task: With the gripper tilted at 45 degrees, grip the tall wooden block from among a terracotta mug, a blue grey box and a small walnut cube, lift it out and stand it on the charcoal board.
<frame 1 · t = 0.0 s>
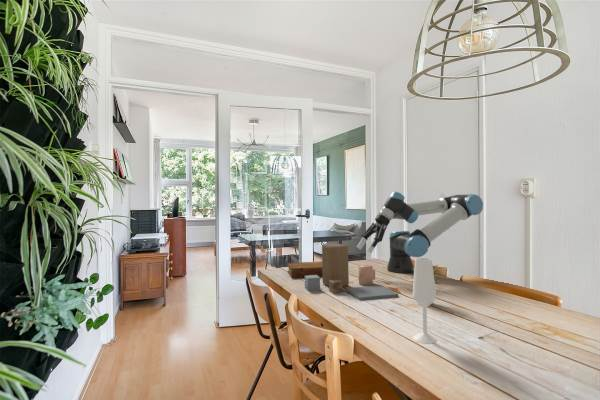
hand: (363, 250, 184), 15 cm above the table, tool tilted 35°, fingers open, 13 cm apart
diary: (308, 274, 199), on the table
blue grey box: (312, 289, 164), on the table
house plant: (429, 303, 138), on the table
terracotta mug: (366, 284, 172), on the table
champagne flute: (425, 339, 103), on the table
walnut cube: (335, 291, 159), on the table
charcoal board: (371, 293, 154), on the table
wooden block: (335, 285, 171), on the table
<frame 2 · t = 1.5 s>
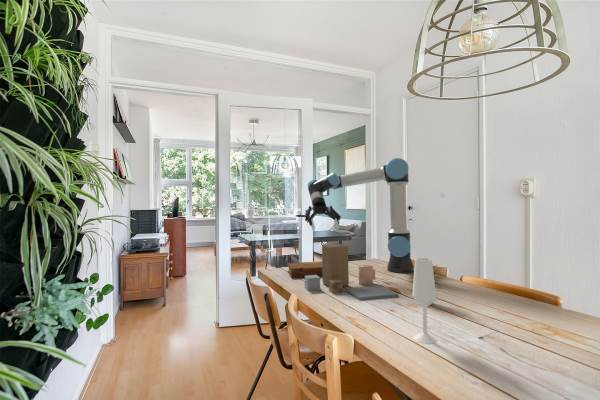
hand: (326, 229, 184), 27 cm above the table, tool tilted 45°, fingers open, 13 cm apart
nothing on the table moved.
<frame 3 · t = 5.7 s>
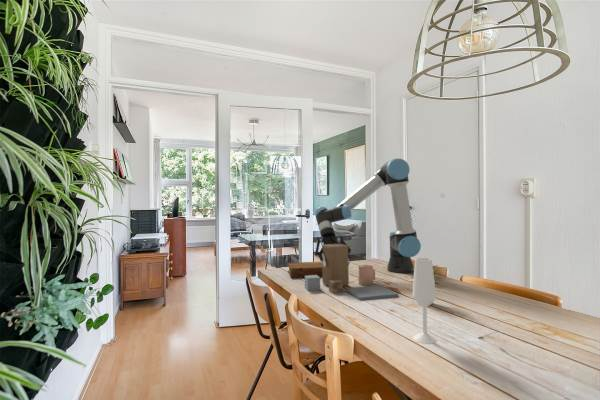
hand: (336, 265, 169), 10 cm above the table, tool tilted 45°, fingers closed on wooden block, 11 cm apart
wooden block: (335, 285, 171), on the table, touching gripper
everything else where it was.
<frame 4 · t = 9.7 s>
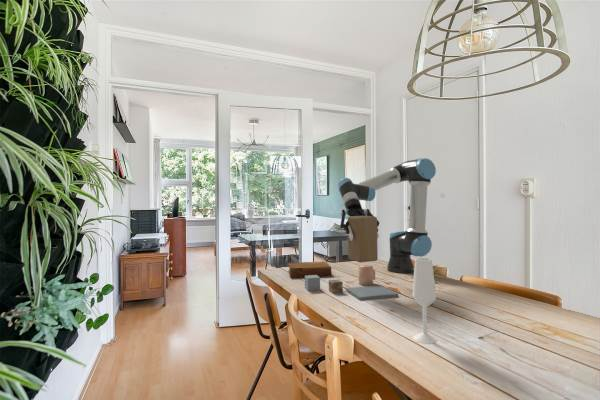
hand: (364, 238, 154), 25 cm above the table, tool tilted 45°, fingers closed on wooden block, 11 cm apart
wooden block: (362, 260, 156), point 14 cm above the table, touching gripper
everything else where it was.
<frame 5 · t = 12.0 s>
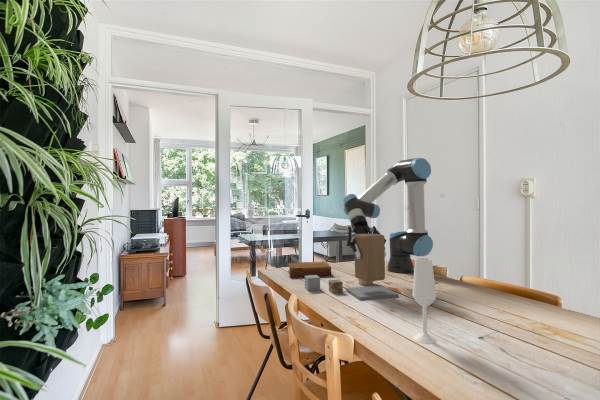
hand: (372, 256, 151), 17 cm above the table, tool tilted 45°, fingers closed on wooden block, 11 cm apart
wooden block: (369, 279, 154), point 6 cm above the table, touching gripper
everything else where it was.
when the fingers open (13 cm above the table, at t = 13.7 s): wooden block drops 1 cm, resting on charcoal board.
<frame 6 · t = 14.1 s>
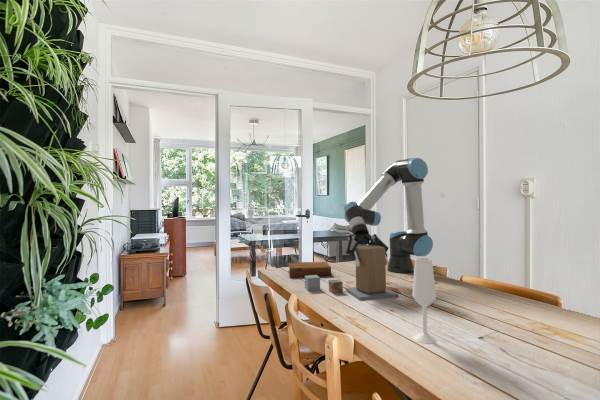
hand: (372, 264, 152), 13 cm above the table, tool tilted 45°, fingers open, 13 cm apart
wooden block: (370, 291, 154), point 1 cm above the table, touching charcoal board
everything else where it was.
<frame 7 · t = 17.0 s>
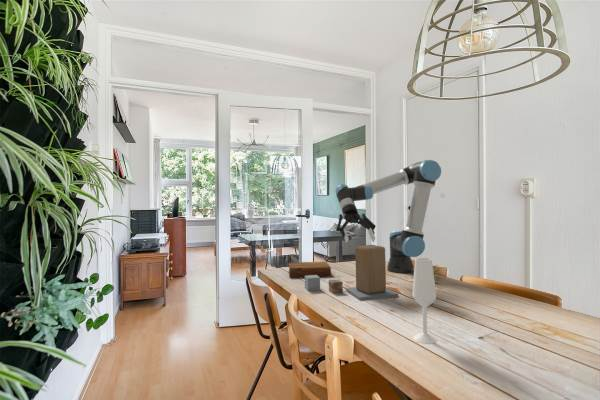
hand: (360, 240, 165), 23 cm above the table, tool tilted 45°, fingers open, 13 cm apart
nothing on the table moved.
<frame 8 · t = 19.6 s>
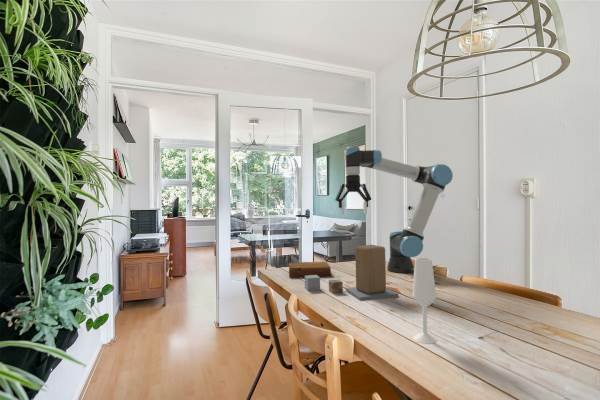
hand: (353, 213, 189), 35 cm above the table, tool pointing down, fingers open, 13 cm apart
nothing on the table moved.
at the end: wooden block inside the target area on the charcoal board (0.1 cm from its centre), point 1.0 cm above the charcoal board's base; wooden block tilted 0°; the gripper is holding nothing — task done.
